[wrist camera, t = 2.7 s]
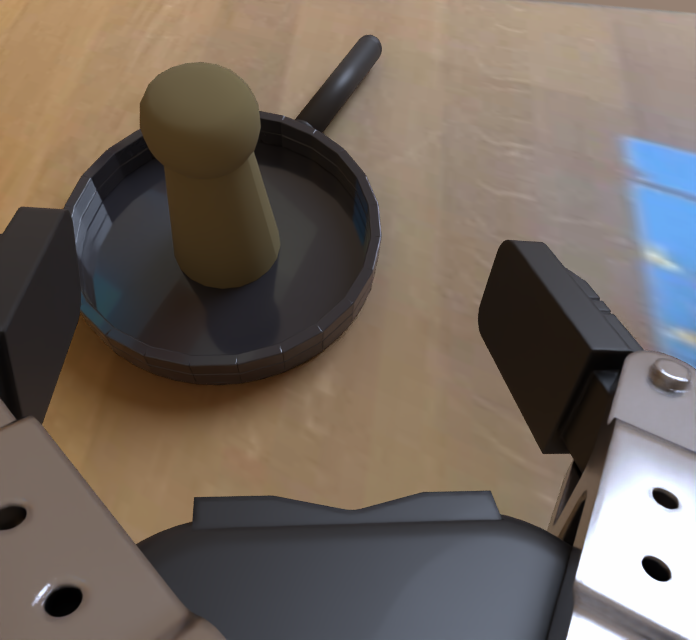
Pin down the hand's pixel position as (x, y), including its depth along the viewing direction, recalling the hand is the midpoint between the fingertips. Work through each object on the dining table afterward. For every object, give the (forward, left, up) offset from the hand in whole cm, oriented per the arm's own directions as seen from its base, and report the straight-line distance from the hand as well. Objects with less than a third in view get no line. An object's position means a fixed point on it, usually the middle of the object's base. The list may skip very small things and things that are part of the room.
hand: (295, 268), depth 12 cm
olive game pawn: (-10, -11, -19) cm, 25 cm away
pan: (-10, -11, -20) cm, 25 cm away
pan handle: (-24, -11, -19) cm, 33 cm away
